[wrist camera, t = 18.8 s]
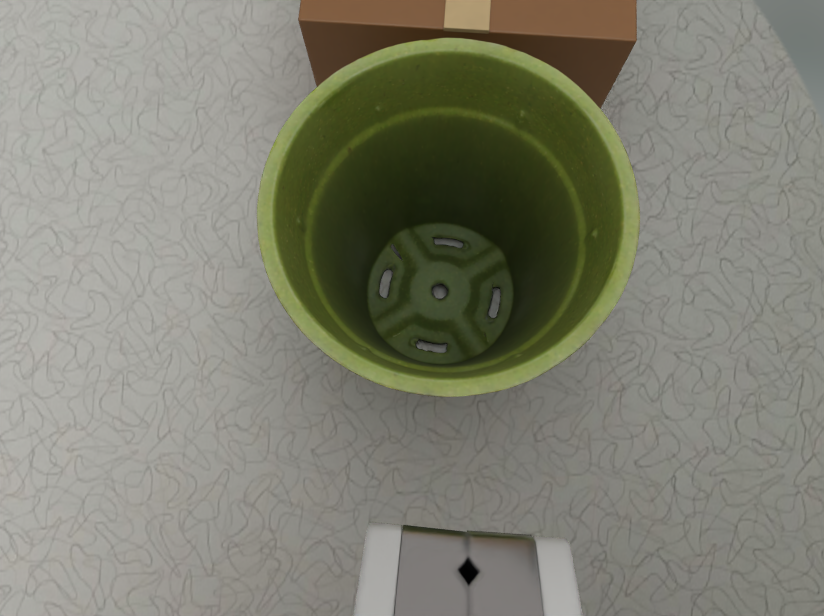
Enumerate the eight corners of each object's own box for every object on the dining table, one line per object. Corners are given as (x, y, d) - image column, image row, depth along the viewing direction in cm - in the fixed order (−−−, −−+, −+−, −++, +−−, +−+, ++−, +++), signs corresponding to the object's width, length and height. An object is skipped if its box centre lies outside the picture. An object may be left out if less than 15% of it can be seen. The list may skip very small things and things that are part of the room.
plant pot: (512, 152, 32) (563, -5, 21) (594, 374, 29) (700, 329, 18) (288, 215, 31) (217, 88, 20) (351, 449, 29) (310, 448, 18)
